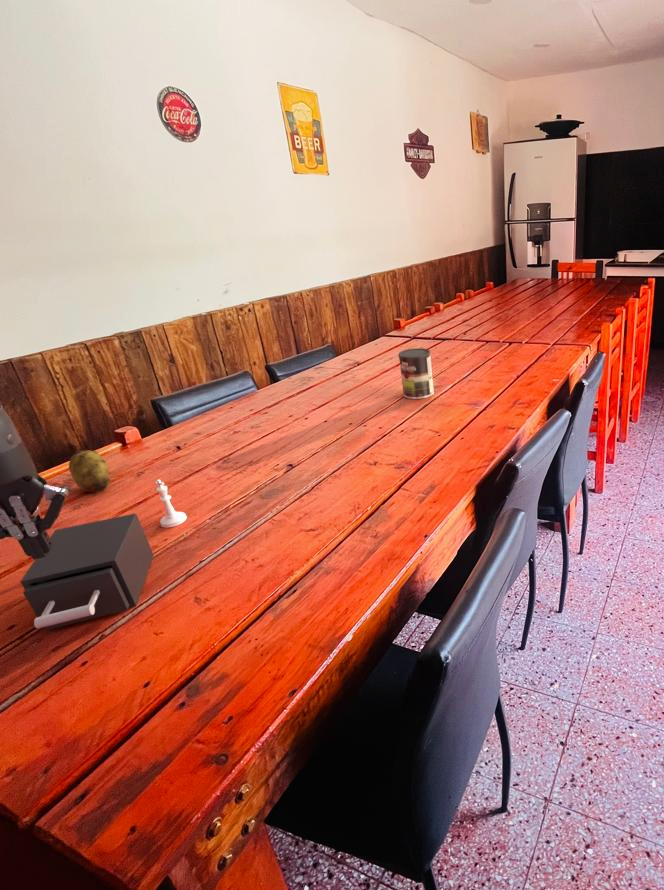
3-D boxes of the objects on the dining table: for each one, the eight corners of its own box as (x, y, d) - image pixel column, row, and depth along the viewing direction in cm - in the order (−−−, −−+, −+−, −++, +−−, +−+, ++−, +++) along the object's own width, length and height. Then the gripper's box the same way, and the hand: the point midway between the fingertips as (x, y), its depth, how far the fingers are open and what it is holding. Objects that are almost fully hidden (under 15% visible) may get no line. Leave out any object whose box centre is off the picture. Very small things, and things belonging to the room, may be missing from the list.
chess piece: (172, 513, 110) (157, 473, 106) (192, 515, 109) (177, 474, 105) (155, 526, 106) (138, 485, 102) (175, 528, 105) (159, 486, 101)
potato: (70, 502, 117) (56, 472, 113) (79, 479, 127) (66, 450, 124) (113, 492, 120) (100, 462, 117) (118, 470, 131) (106, 442, 127)
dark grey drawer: (119, 632, 79) (100, 593, 75) (31, 655, 75) (7, 616, 72) (145, 560, 94) (130, 526, 91) (73, 577, 91) (55, 542, 88)
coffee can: (420, 401, 163) (415, 358, 157) (397, 396, 169) (391, 354, 163) (440, 391, 171) (436, 350, 165) (417, 386, 176) (412, 346, 170)
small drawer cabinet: (136, 605, 85) (115, 560, 81) (47, 628, 81) (19, 581, 77) (153, 555, 97) (136, 513, 93) (77, 572, 94) (55, 529, 89)
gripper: (54, 426, 70) (103, 529, 78) (-65, 445, 67) (-2, 551, 74) (33, 448, 64) (88, 558, 72) (-100, 470, 60) (-27, 584, 68)
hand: (42, 554), depth 73 cm, fingers closed
